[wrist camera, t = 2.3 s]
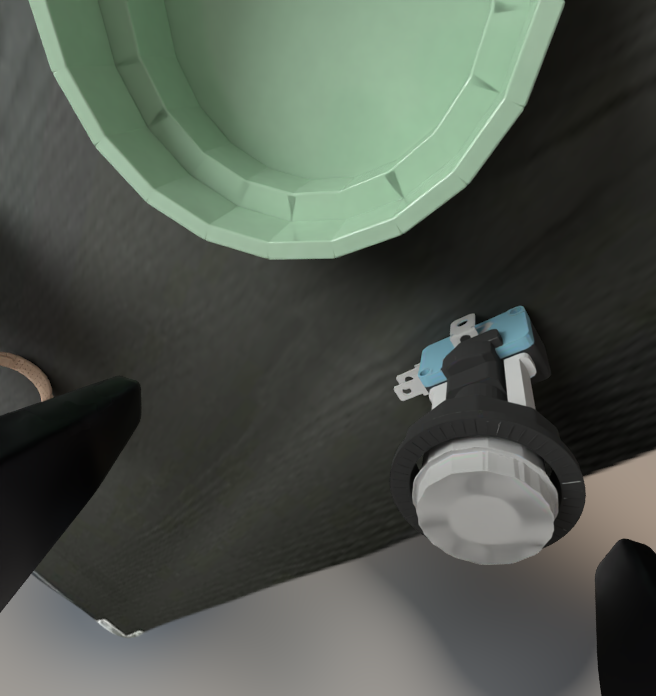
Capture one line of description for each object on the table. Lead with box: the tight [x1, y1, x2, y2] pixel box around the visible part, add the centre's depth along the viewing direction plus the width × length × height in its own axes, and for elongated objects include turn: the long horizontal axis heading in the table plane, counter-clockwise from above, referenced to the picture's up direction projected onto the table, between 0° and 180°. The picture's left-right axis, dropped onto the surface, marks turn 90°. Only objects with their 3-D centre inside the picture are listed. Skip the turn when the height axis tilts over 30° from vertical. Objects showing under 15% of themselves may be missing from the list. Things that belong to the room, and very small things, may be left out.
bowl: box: [29, 0, 565, 260], centre depth 15 cm, size 14×14×6 cm
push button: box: [390, 306, 586, 565], centre depth 18 cm, size 7×5×10 cm
